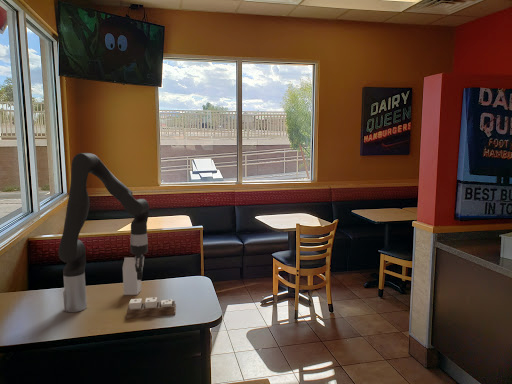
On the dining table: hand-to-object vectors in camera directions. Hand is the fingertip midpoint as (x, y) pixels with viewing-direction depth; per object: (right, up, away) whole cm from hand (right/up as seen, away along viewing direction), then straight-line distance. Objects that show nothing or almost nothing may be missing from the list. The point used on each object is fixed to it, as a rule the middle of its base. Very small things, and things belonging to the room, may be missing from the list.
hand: (139, 279), depth 184 cm
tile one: (-2, -13, +1) cm, 13 cm away
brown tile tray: (+5, -16, +2) cm, 17 cm away
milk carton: (-11, -13, +27) cm, 32 cm away
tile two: (+5, -13, +2) cm, 14 cm away
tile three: (+12, -14, +3) cm, 19 cm away
